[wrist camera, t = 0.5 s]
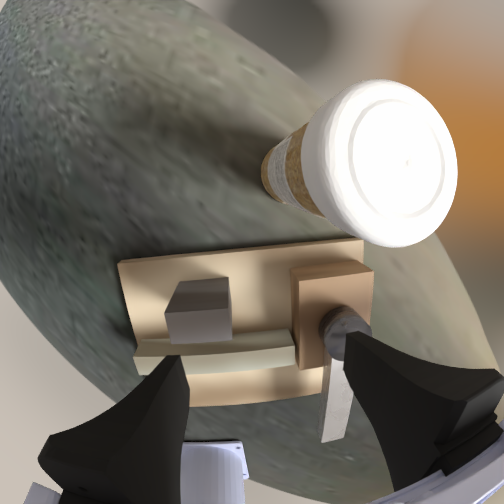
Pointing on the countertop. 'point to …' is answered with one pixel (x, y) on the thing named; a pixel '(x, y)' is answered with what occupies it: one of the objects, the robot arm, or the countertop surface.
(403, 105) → the sprinkles bottle
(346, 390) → the bar
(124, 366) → the countertop surface
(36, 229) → the countertop surface
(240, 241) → the countertop surface
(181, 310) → the wooden base plank
